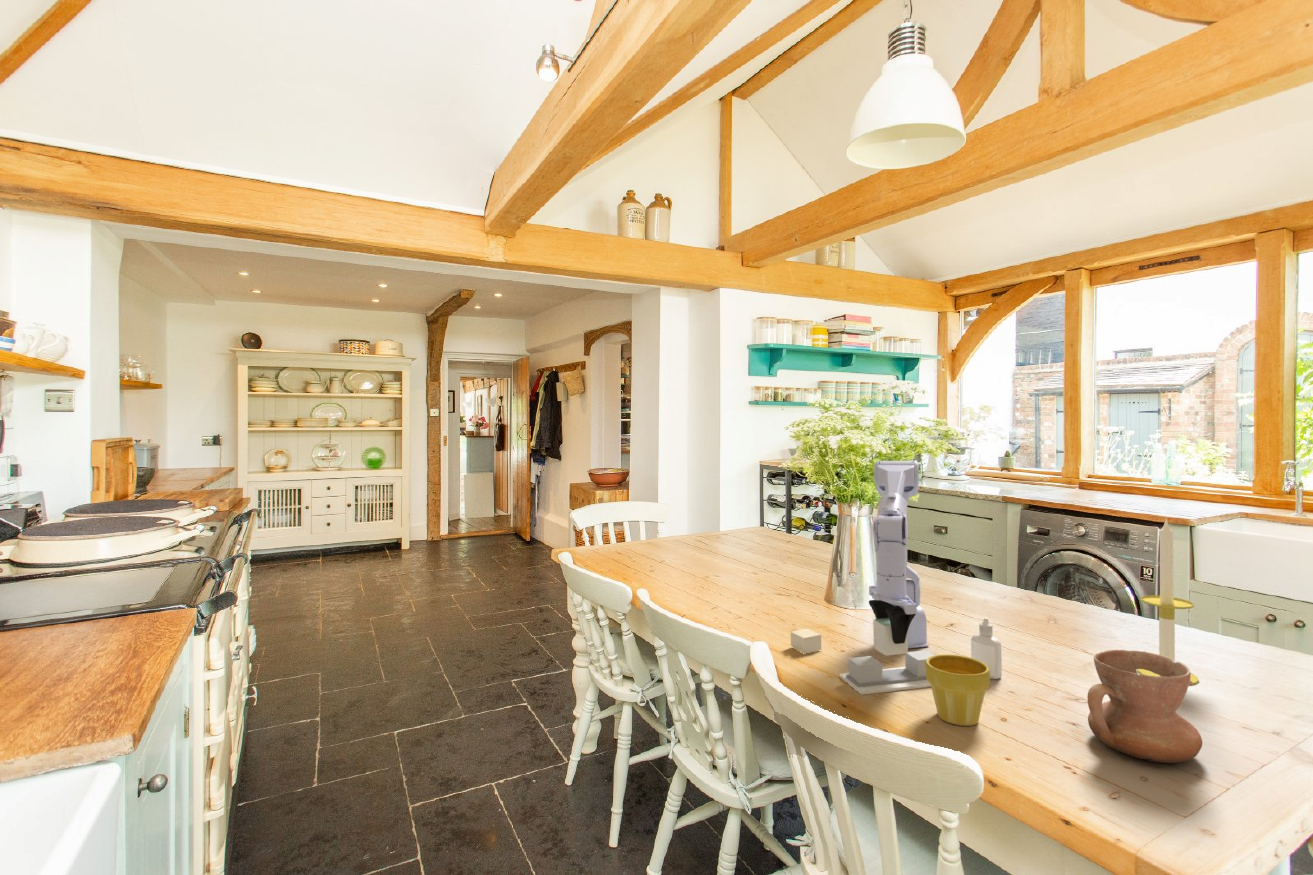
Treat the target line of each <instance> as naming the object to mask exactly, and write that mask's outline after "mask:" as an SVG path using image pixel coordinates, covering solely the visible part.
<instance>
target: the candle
mask: <svg viewBox="0 0 1313 875" xmlns="http://www.w3.org/2000/svg"><path fill="white" fill-rule="evenodd" d="M1167 519H1168V518H1165V520H1164V524H1163V526H1162V528H1160V529H1159V595H1152V594H1151V595H1150V594H1149V595H1143V596H1141V597H1140V600H1141V602H1143V603H1144V604H1147V605H1151V606H1153V607H1158V644H1159V645H1158V652H1159V653H1158V655H1162V656H1166V657H1169V658H1171V659H1172V660H1173V661H1174V662H1176V654H1175V652H1176V646H1175V644H1176V642H1175V641H1176V640H1175V636H1176V634H1175V633H1176V632H1175V630H1176V627H1175V625H1176V624H1175V623H1176V622H1175V621H1176V620H1175V614H1176V613H1175V610H1189V609H1192V608H1194V607H1195V605H1194V603H1193V602H1192V601H1189V600H1185V599H1182V598H1179V597H1174V530H1173V529H1171V527H1170V525H1169V522H1168V520H1167ZM1136 671H1137V673H1138V674H1139V675H1140V674H1141V675H1149V676H1157V677H1161V676H1160V675H1158V674H1155V673H1153V672H1151V671H1148V670H1144V669H1136ZM1190 679H1191V681H1192V684H1191V685H1190V686H1193V685H1197V684H1199V683H1200V679H1199V678H1198V676H1197V675H1195V674H1194V673H1191V676H1190Z"/></svg>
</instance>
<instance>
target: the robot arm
mask: <svg viewBox="0 0 1313 875" xmlns="http://www.w3.org/2000/svg"><path fill="white" fill-rule="evenodd" d="M919 468H920V467H919V462H918V461H917V460H876V461H875V463H874V467H873V469H874V470H873V471H874V472H873V477H874V479H873V480H874V484H875V488H876V489H875V490H876V491H877V494H878V495H881V496H880V498H879V500H878V501H879V502H878V508H877V516H876V517H874V518H873V522H872V523H873V524H872V532H873V533H872V535H873V540H874V550H875V552H876V554H875V555H876V560H875V561H876V564H875V565H876V581H875V585H869V586H868V595H869V596H871V598H872V599H870V600H869V601H868V604H869V606H870V608H871V610H872V612H873V614H874V617H875V619H882V618H889V620H890V623H891V629H892V638H893V642H894V643H895V644H901V643H905V639H906V635H907V631H908V649H914V648H924V647H929V645H930V644H929V643H928V641H927V640H928V634H927V631H928V630H927V615H926V613H925V610H924V609H923V608H922V607H921V606H920V605H921V582H920V581H921V580H920V579H921V578H920V575H919V573H918V572H917V571H916V570H914V569H913V568H912V567H910V566H909V565H908V541H909V540H908V539H909V524H908V523H909V522H908V504H909V502H910V498H912V497H915V496H917V495H918V492H919V484H920V483H919V482H920V478H919V477H920V476H919V474H920V473H919V472H920V471H919V470H920V469H919Z"/></svg>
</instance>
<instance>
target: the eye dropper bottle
mask: <svg viewBox="0 0 1313 875" xmlns="http://www.w3.org/2000/svg"><path fill="white" fill-rule="evenodd" d="M982 620H983V621H982V622H981V623H978V624H979V629H978V630H979V631H978V632H979V633H976V634H974V635H972V636H971V639H970V640H971V641H970V642H971V643H970V645H971V646H970V648H971V649H970V650H971V653H970V654H971V655H970V656H971V657H970V658H973V659H976V660H979V661H981V662H983V663H984V664H986V665H987V666H988V667H989V670H990V680H998V679H1001V678H1002V676H1003V675H1002V674H1003V673H1002V672H1003V671H1002V667H1003V666H1002V665H1003V664H1002V662H1003V661H1002V659H1003V658H1002V642H1001V640H999V639H998V638H997V637H995V636H993V624H991V623H990V622H989V619H988V617H983V619H982Z"/></svg>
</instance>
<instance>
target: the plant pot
mask: <svg viewBox="0 0 1313 875" xmlns="http://www.w3.org/2000/svg"><path fill="white" fill-rule="evenodd" d="M926 678H927V680H928V682H929V683H930V684H931V687H930V688H931V691H932V696H933V699H934V703H935V709H936V713H937V715H938V717H939V718H940V719H941V720H943V721H944V722H947V723H949V724H952V725H955V726H959V727H960V726H961V727H969V726H975V725H977V724H978V723H979V721H980V716H981V711H982V707H983V702H984V699H985V693H986V691H987V690H989V689H990V681H991V679H990V670H989V667H988V666H987V665H986V664H984V663H983V662H981V661H979V660H976V659H973V658H971V657H969V656H965V655H958V654H951V653H950V654H949V653H948V654H944V653H943V654H936V655H935V654H934V656H931V657H929V658H927V660H926Z"/></svg>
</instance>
